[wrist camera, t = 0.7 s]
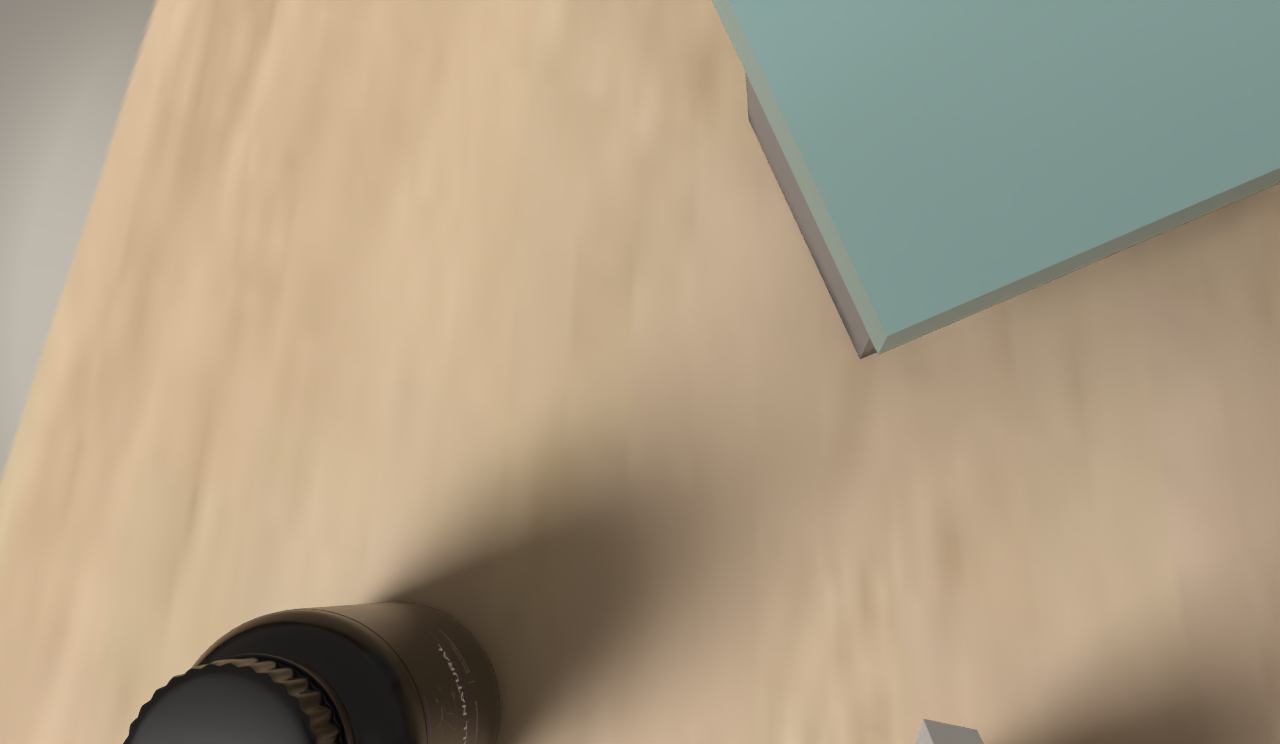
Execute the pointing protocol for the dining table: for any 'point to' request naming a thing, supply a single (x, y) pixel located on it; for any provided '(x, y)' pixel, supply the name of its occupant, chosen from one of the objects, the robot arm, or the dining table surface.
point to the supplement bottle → (332, 682)
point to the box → (808, 226)
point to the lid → (1007, 134)
